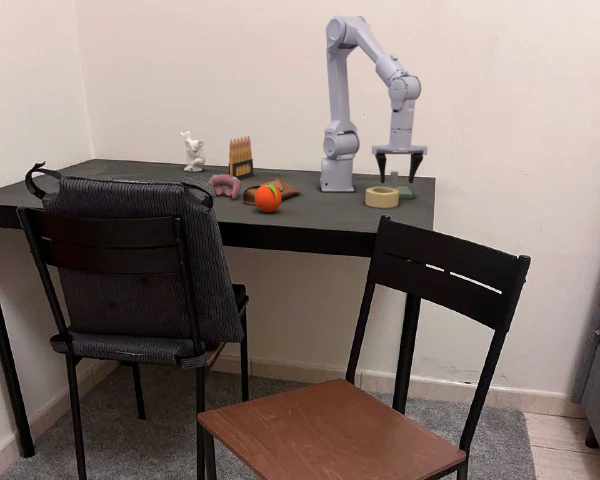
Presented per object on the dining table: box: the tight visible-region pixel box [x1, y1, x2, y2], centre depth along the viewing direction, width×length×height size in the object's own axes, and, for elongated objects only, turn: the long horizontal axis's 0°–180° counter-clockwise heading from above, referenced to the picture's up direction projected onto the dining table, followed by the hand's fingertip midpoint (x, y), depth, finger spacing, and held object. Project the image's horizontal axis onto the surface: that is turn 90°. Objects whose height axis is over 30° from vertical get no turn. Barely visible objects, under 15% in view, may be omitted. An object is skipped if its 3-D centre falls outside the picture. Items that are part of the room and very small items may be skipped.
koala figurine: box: [179, 130, 207, 173], centre depth 201 cm, size 8×7×12 cm
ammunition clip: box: [228, 135, 254, 180], centre depth 193 cm, size 11×2×12 cm, turn 148°
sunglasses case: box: [242, 177, 301, 206], centre depth 173 cm, size 18×7×7 cm
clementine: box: [255, 184, 282, 213], centre depth 159 cm, size 8×7×7 cm
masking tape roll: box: [364, 187, 400, 209], centre depth 169 cm, size 9×9×4 cm
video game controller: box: [207, 173, 242, 200], centre depth 173 cm, size 10×5×7 cm, turn 71°
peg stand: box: [373, 170, 414, 199], centre depth 178 cm, size 10×10×6 cm
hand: (396, 182), depth 167 cm, fingers open, 7 cm apart
